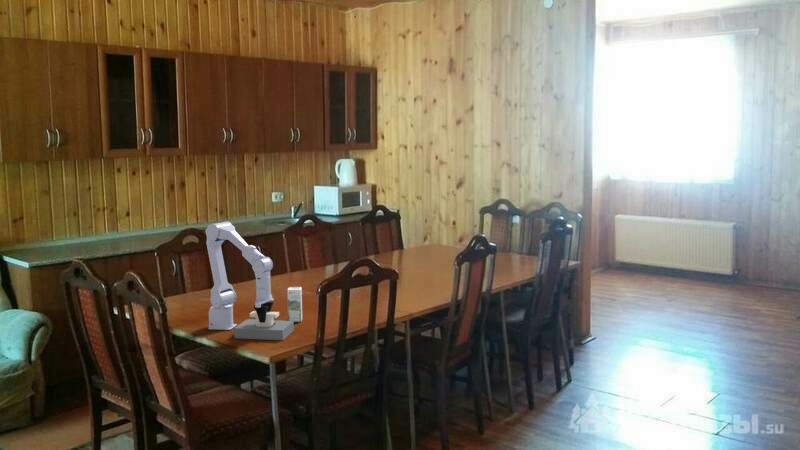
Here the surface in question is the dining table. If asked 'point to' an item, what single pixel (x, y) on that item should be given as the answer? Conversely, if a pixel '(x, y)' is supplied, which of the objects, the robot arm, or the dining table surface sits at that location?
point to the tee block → (269, 318)
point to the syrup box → (294, 304)
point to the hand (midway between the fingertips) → (264, 320)
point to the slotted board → (264, 330)
